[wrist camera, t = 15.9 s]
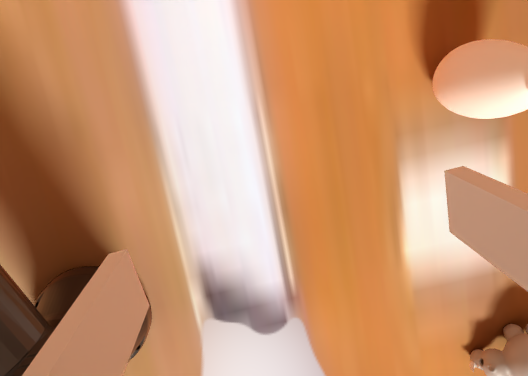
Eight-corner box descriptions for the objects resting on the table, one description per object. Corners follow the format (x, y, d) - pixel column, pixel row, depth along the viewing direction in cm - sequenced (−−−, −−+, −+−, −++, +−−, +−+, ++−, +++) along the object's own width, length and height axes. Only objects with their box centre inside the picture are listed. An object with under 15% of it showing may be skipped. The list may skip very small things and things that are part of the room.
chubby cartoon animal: (457, 324, 60) (466, 369, 52) (545, 313, 54) (569, 361, 47) (469, 356, 62) (480, 403, 54) (555, 348, 56) (580, 400, 49)
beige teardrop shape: (434, 34, 43) (562, 11, 26) (491, 57, 44) (648, 49, 27) (406, 99, 45) (507, 117, 28) (461, 119, 46) (590, 148, 29)
